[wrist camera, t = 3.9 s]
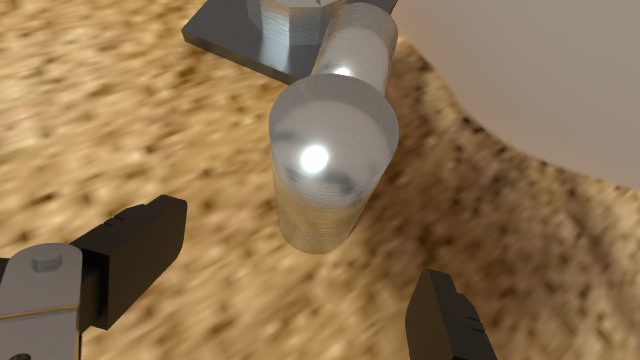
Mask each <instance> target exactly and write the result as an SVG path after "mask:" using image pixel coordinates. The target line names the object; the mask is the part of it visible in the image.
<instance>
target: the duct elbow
mask: <svg viewBox="0 0 640 360" xmlns="http://www.w3.org/2000/svg"><path fill="white" fill-rule="evenodd" d="M397 40H398V31H397V27H396V24H395V22H394V20H393V19H392V18H391V16H390V15H389V14H388V13H387V12H385V11H384V10H383V9H381V8H379V7H377V6H375V5H372V4H368V3H351V4H347V5H345V6H343V7H341V8H339V9H338V10H337V11H336V12H335V13H334V14H333V15H332V17H331V19H330V22H329V24H328V27H327V30H326V33H325V36H324V39H323V41H322V44H321V47H320V50H319V53H318V56H317V59H316V61H315V64H314V67H313V70H312V73H311V76H308V77H305V78H302V79H300V80H298V81H296V82H295V83H293V84H291V85H290V86H289V87H287V88H286V89H285V90H284V91H283V92H282V93H281V94H280V95H279V97H278V98H277V100H276V101H275V103H274V105H273V107H272V110H271V113H270V117H269V135H270V145H271V155H272V165H273V175H274V185H275V195H276V205H277V215H278V223H279V228H280V231H281V233H282V235H283V236H284V238H285V239H286V241H287V242H288V243H289V244H290V245H292V246H293V247H294V248H296V249H298V250H300V251H302V252H305V253H309V254H323V253H327V252H330V251H333V250H335V249H336V248H338V247H339V246H340V245H341V244H343V243H344V241H345V240H346V239H347V237H348V236H349V234H350V232H351V230H352V229H353V227H354V225H355V223H356V221H357V220H358V218H359V216H360V214H361V213H362V211H363V209H364V207H365V205H366V204H367V202H368V200H369V198H370V196H371V195H372V193H373V191H374V189H375V187H376V186H377V184H378V182H379V180H380V179H381V177H382V175H383V173H384V171H385V170H386V168H387V166H388V164H389V162H390V161H391V159H392V157H393V155H394V153H395V151H396V149H397V145H398V141H399V124H398V119H397V117H396V114H395V112H394V110H393V108H392V106H391V104H390V103H389V102H388V100H387V99H386V98H385V93H386V89H387V84H388V80H389V75H390V71H391V67H392V62H393V58H394V53H395V49H396V44H397Z"/></svg>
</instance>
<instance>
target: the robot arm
mask: <svg viewBox="0 0 640 360" xmlns="http://www.w3.org/2000/svg"><path fill="white" fill-rule="evenodd" d="M186 215H187V202H186V201H185V200H182V199H178V198H175V197H171V196H168V195H164V194H163V195H160V196H159V197H157V198H156V199H154V200H153V201H151V202H150V203H148V204H147V205H144V204H141V205H137V206H134V207H130V208H127V209H125V210H123V211H121V212H120V213H118V214H116V215H115V216H114V217H113V218H110V219H108V220H107V221H105V222H104V224H100V225H99V226H97V227H95V228H94V229H92V230H91V231H89V232H87V233H86V234H84V235H82V236H81V237H79V238H78V239H76V240H74V241H73V242H71V243H69V244H64V243H46V244H40V245H35V246H31V247H28V248H26V249H23V250H21V251H19V252H18V253H16V254H15V255H13V256H12V257H11V258H0V360H81V357H82V333H83V332H84V331H85V330H87V329H88V328H89V327H90V326H94V327H97V328H100V329H104V330H108V329H109V328H110V327H111V326H112V325H113V324H114V323H115V322H116V321H117V320H118V319H119V318H120V317H121V316H122V315H123V314H124V313H125V312H126V311H127V310H128V308H129V307H130V306H131V305H132V304H133V303H134V302H135V301H136V300H137V299H138V298H139V297H140V296H141V295H142V294H143V293H144V292H145V291H146V290H147V289H148V288H149V287H150V286H151V285H152V283H153V282H154V281H155V280H156V279H157V278H158V277H159V276H160V275H161V274H162V273H163V272H164V271H165V270H166V269H167V268H168V267H169V266H170V265H171V264H172V263H173V262H174V261H175V259H176V258H177V257H178V255H179V253H180V251H181V248H182V245H183V240H184V232H185V224H186ZM405 327H406V334H407V341H408V348H409V355H410V360H497V358H496V355H495V353H494V351H493V348H492V346H491V344H490V342H489V339H488V337H487V335H486V334H485V330H484V328H483V326H482V323H480V319H479V316H478V314H477V312H476V310H475V307H474V306H473V305H472V304H471V303H470V302H469V301H468V299H467V298H466V297H465V296H464V295H463V294H460V293H457V291H456V289H455V286H454V284H453V281H452V279H451V276H450V275H449V274H446V273H442V272H439V271H435V270H431V269H428V268H425V269H424V270H423V271H422V273H421V276H420V278H419V281H418V283H417V285H416V288H415V290H414V293H413V295H412V298H411V300H410V303H409V305H408V308H407V312H406V318H405Z"/></svg>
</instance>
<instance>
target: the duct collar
mask: <svg viewBox="0 0 640 360" xmlns="http://www.w3.org/2000/svg"><path fill="white" fill-rule="evenodd" d="M397 1H398V0H208V1H207V2H206V3H205V4H204V5H203V6H202V7H201V8H200V9H199V10H198V12H197V13H196V14H195V15H194V16H193V17H192V18H191V19H190V20H189V22H188V23H187V24H186V25H185V26H184V27H183V28H182V29H181V31H182V34H183V37H184V39H185V42H188V43H190V44H192V45H195V46H197V47H199V48H202V49H204V50H207V51H209V52H211V53H214V54H216V55H218V56H221V57H223V58H226V59H228V60H230V61H233V62H235V63H238V64H240V65H242V66H245V67H247V68H249V69H252V70H254V71H257V72H259V73H261V74H264V75H266V76H268V77H271V78H273V79H276V80H278V81H280V82H283V83H285V84H287V85H291V84H293V83H295V82H296V81H298V80H300V79H302V78H305V77H308V76H311V73H312V70H313V67H314V64H315V61H316V59H317V56H318V53H319V50H320V47H321V44H322V41H323V39H324V36H325V33H326V30H327V27H328V24H329V22H330V19H331V17H332V15H333V14H334V13H335V12H336V11H337V10H338V9H339V8H341V7H343V6H345V5H347V4H351V3H368V4H372V5H375V6H377V7H379V8H381V9H383V10H384V11H385V12H387V13H388V14H389V15H390V14H391V12H392V10H393V8H394V6H395V5H396V3H397Z"/></svg>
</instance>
